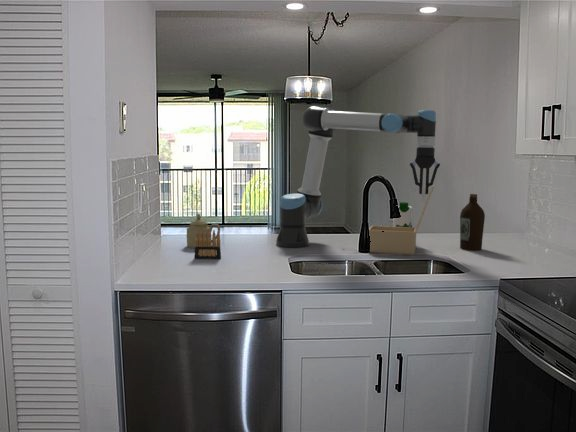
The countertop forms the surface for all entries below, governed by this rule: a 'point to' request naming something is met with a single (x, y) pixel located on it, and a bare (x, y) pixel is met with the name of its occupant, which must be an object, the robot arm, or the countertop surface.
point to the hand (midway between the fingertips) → (423, 201)
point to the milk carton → (404, 216)
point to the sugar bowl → (198, 226)
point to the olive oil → (471, 225)
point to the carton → (392, 240)
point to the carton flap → (424, 207)
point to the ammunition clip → (202, 247)
